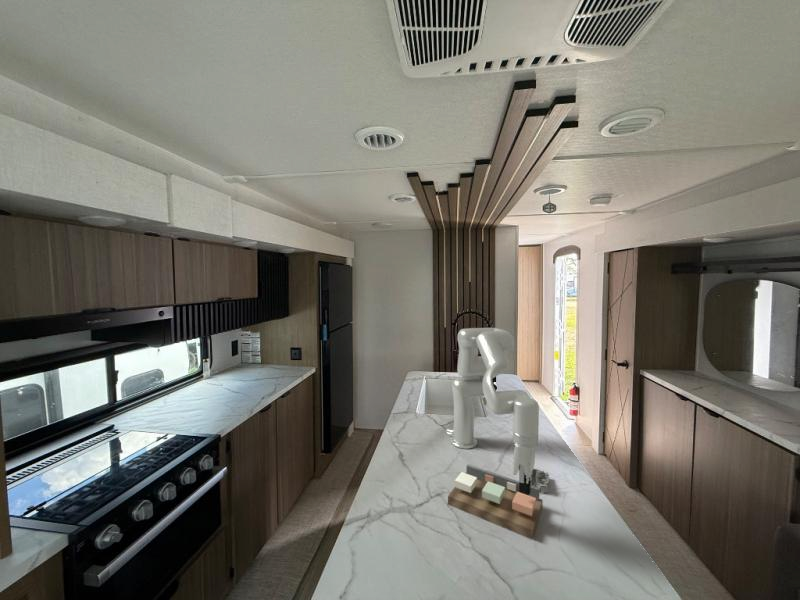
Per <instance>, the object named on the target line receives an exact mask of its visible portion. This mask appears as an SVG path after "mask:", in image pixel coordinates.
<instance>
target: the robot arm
mask: <svg viewBox="0 0 800 600" xmlns="http://www.w3.org/2000/svg"><path fill="white" fill-rule="evenodd" d="M514 340H515V339H514V337H513V335H512V334H511V333H510V332H509V331H508V330H504V329H501V328H498V327H469V328H461V329H459V331H458V333H457V343H458V359H457V365H456V367H457V375H458V376H460V377H457V378H455V379H453V381H452V382H451V390H452V395H453V396H452V397H453V429H451V428H447V429H446V435H447V436H450V443H451V444H452V445H453V447H456V448H459V449H467V450H468V449H472V448H475V447H477V445H478V440H477V438H476V437H475V407H474V404H473V402H472V401H471V400H470V398H471V399H472V398H482V397H484V398H485V401H486V403H487V407H488V409H489V410H490V411H491V413H493V414H494V415H498V416H499V415H501V416H502V415H510V414H513V416H512V417H513V418H512V419H513V420H512V422H513V425H512V426H513V427H512V429H513V430H512V431H513V433H512V441H513V442H514V450H513V463H512V465H513V467H512V474H513V475H515V476H517V474H518V478H519V479H518V481H519V492H520V493H523V494H526V495H530V492H531V481H529V480H530V479H531V473H532V470H533V468H534V467H535V463H536V447H538V446H539V425H540V422H539V421H540V420H539V418H540V417H539V415H540V414H539V413H540V411H539V410H540V405H539V402H538V401H536V400H535V399H533V398H531V397H530V395H529V394H528V393H527V392H526V391H525V390H523V389H522V390H521V389H512V390H502V391H501V390H500V391H497V390H496V388H495V386H494V383H493V379H494V378H496V377H497V376H500V375H501V374H503V373H504V372H506V371H507V369H509V367H510V361H509V359H508V357H507V355H506V353H507V352H510V351H513V349H514V348H515V341H514ZM479 353H480V355H481V356H479ZM534 469H535V468H534Z"/></svg>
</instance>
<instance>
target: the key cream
mask: <svg viewBox="0 0 800 600" xmlns="http://www.w3.org/2000/svg"><path fill="white" fill-rule="evenodd" d="M476 484H477V477H474V476H471V475H469V474H466V472H462V471H461V472H460V473H459V474H458V476H457V477H456V478H455V480H454V487H456V488H459V489H462V490H464V491H467V492H469V493H471V492H472V490H473V489H474V487H475V486H476Z"/></svg>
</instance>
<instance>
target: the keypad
mask: <svg viewBox="0 0 800 600" xmlns="http://www.w3.org/2000/svg"><path fill="white" fill-rule="evenodd" d="M465 473H466V474H469V475H471V476H474V477H477V484H476V486H475V487H474V489H473V490H472V492H471V493H469V492H467V491H464V490H462V489H459V488H456V487H455V486H454V487H453V488H452V490H451V491H450V492H449V494H448V496H447V505H449V506H451V507H454V508H457V509H459V510H461V511H463V512H466V513H467V514H471V515H472V516H475V517H478V518H480V519H483V520H485V521H487V522H490V523H491V524H494V525H496V526H499V527H501V528H505V529H506V528H507V530H509V531H512V532H513V531H514V533H516V534H518V535H520V536H523V537H525V536H526V538H528V539H530V540H533V538H534V535H535V532H536V530H537V525H538V524H539V523H538V522H539V520H540V517H541V513H542V509H543V504H544V503H543V499H541V498H540V491H539V490H540V488H538V487H534V486H531V492H530V495H529V496H532V497H534V498H536V506H535V508H534V511H533V514H532V516H530V515H527V514H524V513H522V512H519V511H517V510H514V509H512V501H513V499H514V497H515V495H516V492H519V480H516V479H513V478H510V477H507V476H504V475H501V474H497V473H495V472H492V471H489V470H486V469H484V468H479V467H477V466H474V465H472V464H471V465H470V464H467V465H466V472H465ZM488 481H489V482H491V483H494V484H497V485H500V486H503V487H505V495H504V497H503V499H502V501H501V502H500V504H498V503H496V502H493V501H490V500H488V499H485V498H482V490H483V488H484V487H485V485H486V483H487V482H488Z"/></svg>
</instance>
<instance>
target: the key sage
mask: <svg viewBox="0 0 800 600" xmlns="http://www.w3.org/2000/svg"><path fill="white" fill-rule="evenodd" d="M504 495H505V487H503V486H500V485H497V484H494V483H491V482H489V481H488V482H487V483H486V485H485V487H484V488H483V490H482V498H485V499H488V500H490V501H493V502H496V503H498V504H500V502H501V501H502V499H503V497H504Z"/></svg>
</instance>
